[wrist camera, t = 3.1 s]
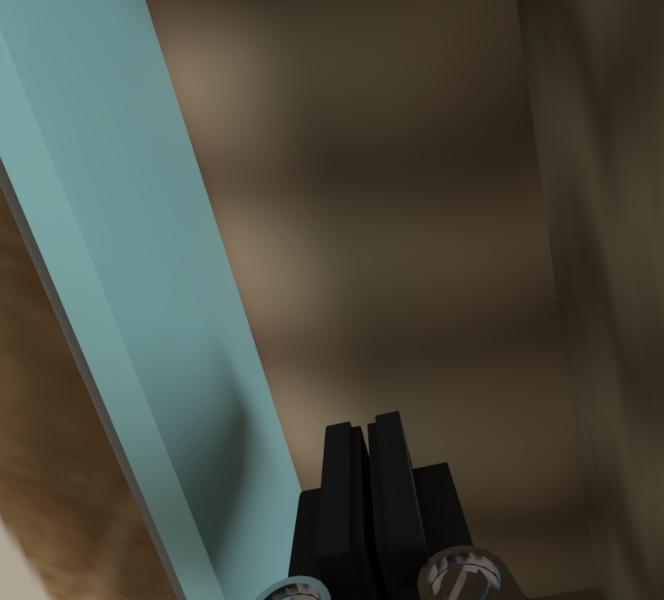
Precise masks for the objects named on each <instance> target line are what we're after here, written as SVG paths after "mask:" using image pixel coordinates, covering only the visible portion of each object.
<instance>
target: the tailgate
mask: <svg viewBox="0 0 664 600" xmlns="http://www.w3.org/2000/svg"><path fill="white" fill-rule="evenodd" d="M0 186H1V189H2V191H3V193H4V196H5V198H6V200H7V203H8V205H9V207H10V210H11V212H12V214H13V217H14V219H15V221H16V224H17V226H18V228H19V231H20V233H21V235H22V238H23V240H24V242H25V245H26V247H27V249H28V252H29V254H30V256H31V259H32V261H33V263H34V266H35V268H36V270H37V273H38V275H39V277H40V280H41V282H42V284H43V287H44V289H45V292H46V294H47V296H48V299H49V301H50V303H51V306H52V308H53V310H54V313H55V315H56V317H57V320H58V322H59V324H60V327H61V329H62V331H63V334H64V336H65V338H66V341H67V343H68V345H69V348H70V350H71V352H72V355H73V357H74V359H75V362H76V364H77V366H78V369H79V371H80V373H81V376H82V378H83V380H84V383H85V385H86V387H87V390H88V392H89V394H90V397H91V399H92V401H93V404H94V406H95V408H96V411H97V413H98V415H99V418H100V420H101V422H102V425H103V427H104V430H105V432H106V434H107V437H108V439H109V441H110V444H111V446H112V448H113V451H114V453H115V455H116V458H117V460H118V462H119V465H120V467H121V469H122V472H123V474H124V476H125V479H126V481H127V483H128V486H129V488H130V490H131V493H132V495H133V497H134V500H135V502H136V504H137V507H138V509H139V511H140V514H141V516H142V518H143V521H144V523H145V525H146V528H147V530H148V532H149V535H150V537H151V539H152V542H153V544H154V546H155V549H156V551H157V553H158V556H159V558H160V560H161V563H162V565H163V568H164V570H165V572H166V575H167V577H168V579H169V582H170V584H171V586H172V589H173V591H174V593H175V596H176V598H177V600H255V599H256V598H257V597H258V596H259V595H260V594H261V593H262V592H263V591H264V590H265V589H267V588H268V587H270V586H271V585H272V584H274V583H276V582H278V581H281V580H283V579H285V578H288V571H289V564H290V557H291V550H292V543H293V536H294V529H295V522H296V515H297V508H298V501H299V496H300V493H301V492H302V490H301V487H300V484H299V481H298V478H297V475H296V471H295V468H294V465H293V462H292V459H291V456H290V453H289V449H288V446H287V443H286V440H285V437H284V434H283V431H282V427H281V424H280V421H279V418H278V415H277V412H276V409H275V405H274V402H273V399H272V396H271V393H270V390H269V387H268V383H267V380H266V377H265V374H264V371H263V368H262V365H261V361H260V358H259V355H258V352H257V349H256V346H255V343H254V339H253V336H252V333H251V330H250V327H249V324H248V321H247V318H246V314H245V311H244V308H243V305H242V302H241V299H240V296H239V292H238V289H237V286H236V283H235V280H234V277H233V274H232V270H231V267H230V264H229V261H228V258H227V255H226V252H225V248H224V245H223V242H222V239H221V236H220V233H219V230H218V226H217V223H216V220H215V217H214V214H213V211H212V208H211V204H210V201H209V198H208V195H207V192H206V189H205V186H204V182H203V179H202V176H201V173H200V170H199V167H198V164H197V160H196V157H195V154H194V151H193V148H192V145H191V142H190V138H189V135H188V132H187V129H186V126H185V123H184V120H183V117H182V113H181V110H180V107H179V104H178V101H177V98H176V95H175V91H174V88H173V85H172V82H171V79H170V76H169V73H168V69H167V66H166V63H165V60H164V57H163V54H162V51H161V47H160V44H159V41H158V38H157V35H156V32H155V29H154V25H153V22H152V19H151V16H150V13H149V10H148V7H147V3H146V0H0Z"/></svg>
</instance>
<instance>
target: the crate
mask: <svg viewBox="0 0 664 600" xmlns="http://www.w3.org/2000/svg"><path fill="white" fill-rule="evenodd" d="M146 3H147V7H148V10H149V13H150V16H151V19H152V22H153V25H154V29H155V32H156V35H157V38H158V41H159V44H160V47H161V51H162V54H163V57H164V60H165V63H166V66H167V69H168V73H169V76H170V79H171V82H172V85H173V88H174V91H175V95H176V98H177V101H178V104H179V107H180V110H181V113H182V117H183V120H184V123H185V126H186V129H187V132H188V135H189V138H190V142H191V145H192V148H193V151H194V154H195V157H196V160H197V164H198V167H199V170H200V173H201V176H202V179H203V182H204V186H205V189H206V192H207V195H208V198H209V201H210V204H211V208H212V211H213V214H214V217H215V220H216V223H217V226H218V230H219V233H220V236H221V239H222V242H223V245H224V248H225V252H226V255H227V258H228V261H229V264H230V267H231V270H232V274H233V277H234V280H235V283H236V286H237V289H238V292H239V296H240V299H241V302H242V305H243V308H244V311H245V314H246V318H247V321H248V324H249V327H250V330H251V333H252V336H253V339H254V343H255V346H256V349H257V352H258V355H259V358H260V361H261V365H262V368H263V371H264V374H265V377H266V380H267V383H268V387H269V390H270V393H271V396H272V399H273V402H274V405H275V409H276V412H277V415H278V418H279V421H280V424H281V427H282V431H283V434H284V437H285V440H286V443H287V446H288V449H289V453H290V456H291V459H292V462H293V465H294V468H295V471H296V475H297V478H298V481H299V484H300V487H301V490H302V491H306V490H311V489H316V488H320V487H321V477H322V465H323V453H324V441H325V429H326V426H329V425H334V424H339V423H343V422H348V421H350V422H351V425H352V427H355V426H361V429H362V432H363V436H364V439H365V443H366V447H367V451H368V454H369V444H368V428H367V424H370V423H374V422H376V420H375V416H376V415H381V414H385V413H390V412H395V411H399V413H400V417H401V421H402V425H403V429H404V433H405V437H406V441H407V445H408V449H409V453H410V458H411V462H412V466H413V469H414V468H419V467H424V466H429V465H434V464H439V463H444V462H447V463H448V466H449V469H450V472H451V475H452V479H453V482H454V485H455V488H456V491H457V495H458V498H459V501H460V504H461V507H462V511H463V514H464V517H465V520H466V523H467V527H468V530H469V533H470V536H471V539H472V542H473V546H476V547H479V548H482V549H486V550H488V551H490V552H492V553H493V554H495V555H496V556H498V557H499V558H500V559H501V560H502V561H503V562H504V564H505V565H506V566H507V567H508V569H509V571H510V572H511V574H512V576H513V577H514V579H515V581H516V582H517V584H518V586H519V587H520V589H521V591H522V593H523V594H524V596H525V597H526V598H528V599H530V600H664V0H146Z"/></svg>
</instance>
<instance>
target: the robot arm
mask: <svg viewBox="0 0 664 600" xmlns="http://www.w3.org/2000/svg"><path fill="white" fill-rule="evenodd" d="M375 420H376V422H374V423H370V424H367V428H368V444H369V454H368V451H367V447H366V443H365V439H364V436H363V432H362V429H361V426H355V427H352V425H351V422H350V421H348V422H343V423H339V424H334V425H329V426H326V429H325V441H324V453H323V465H322V477H321V487H320V488H316V489H311V490H306V491H302V492H301V493H300V496H299V501H298V508H297V515H296V522H295V529H294V536H293V543H292V550H291V557H290V564H289V571H288V578H285V579H283V580H281V581H278V582H276V583H274V584H272V585H271V586H270V587H268V588H267V589H265V590H264V591H263V592H262V593H261V594H260V595H259V596H258V597H257V598H256V599H255V600H530V599H528V598H526V597H525V596H524V594H523V593H522V591H521V589H520V587H519V586H518V584H517V582H516V581H515V579H514V577H513V576H512V574H511V572H510V571H509V569H508V567H507V566H506V565H505V564H504V562H503V561H502V560H501V559H500V558H499V557H498V556H496V555H495V554H493V553H492V552H490V551H488V550H486V549H482V548H479V547H476V546H473V542H472V539H471V536H470V533H469V530H468V527H467V523H466V520H465V517H464V514H463V511H462V507H461V504H460V501H459V498H458V495H457V491H456V488H455V485H454V482H453V479H452V475H451V472H450V469H449V466H448V463H447V462H444V463H439V464H434V465H429V466H424V467H419V468H414V469H413V466H412V462H411V458H410V453H409V449H408V445H407V441H406V437H405V433H404V429H403V425H402V421H401V417H400V413H399V411H395V412H390V413H385V414H381V415H376V416H375Z"/></svg>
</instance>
